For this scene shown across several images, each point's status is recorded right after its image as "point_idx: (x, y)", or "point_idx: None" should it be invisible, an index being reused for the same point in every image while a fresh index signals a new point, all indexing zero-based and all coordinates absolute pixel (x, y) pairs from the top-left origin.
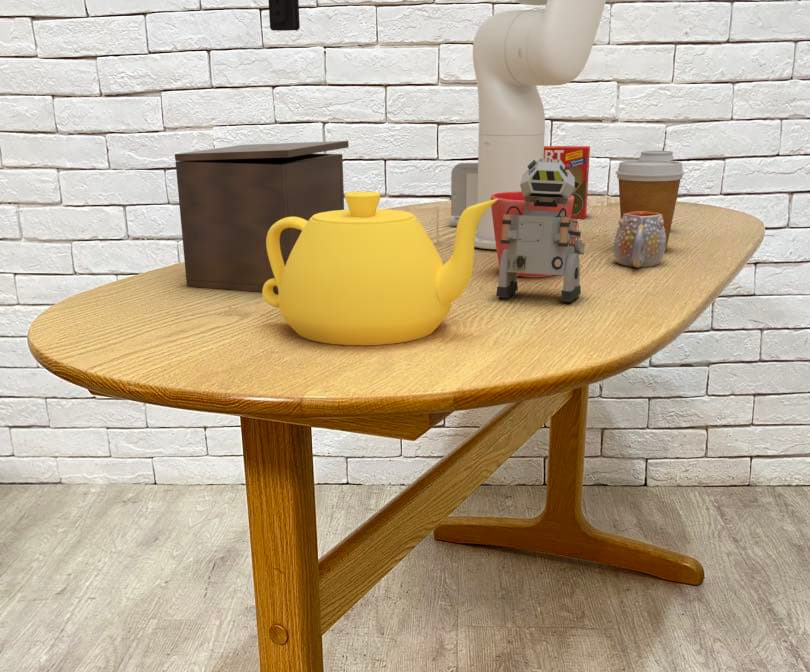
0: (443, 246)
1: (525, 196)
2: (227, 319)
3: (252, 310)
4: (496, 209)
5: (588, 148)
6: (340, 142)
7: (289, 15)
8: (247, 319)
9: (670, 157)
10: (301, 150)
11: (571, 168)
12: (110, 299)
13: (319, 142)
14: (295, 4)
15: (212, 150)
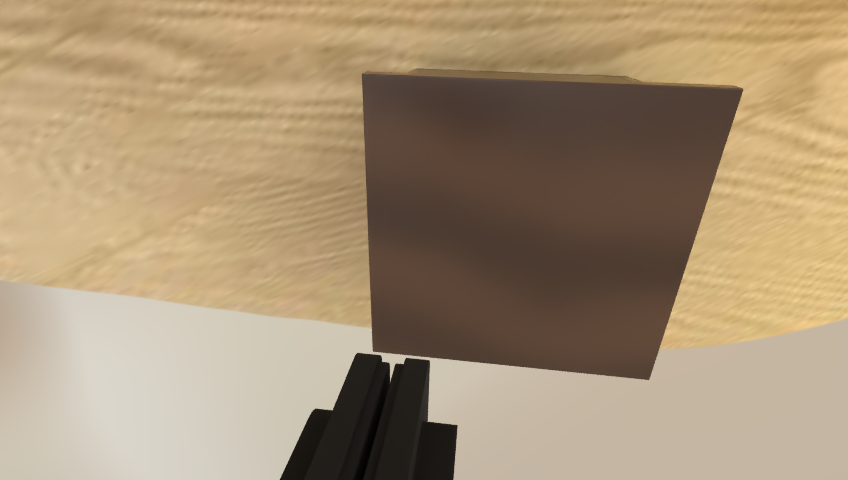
0: (104, 2)
1: None
2: (843, 78)
3: (766, 73)
4: None
5: None
6: (411, 75)
7: (419, 424)
8: (843, 46)
9: None
10: (656, 84)
11: None
12: (700, 306)
13: (397, 150)
14: (351, 458)
15: (567, 339)
